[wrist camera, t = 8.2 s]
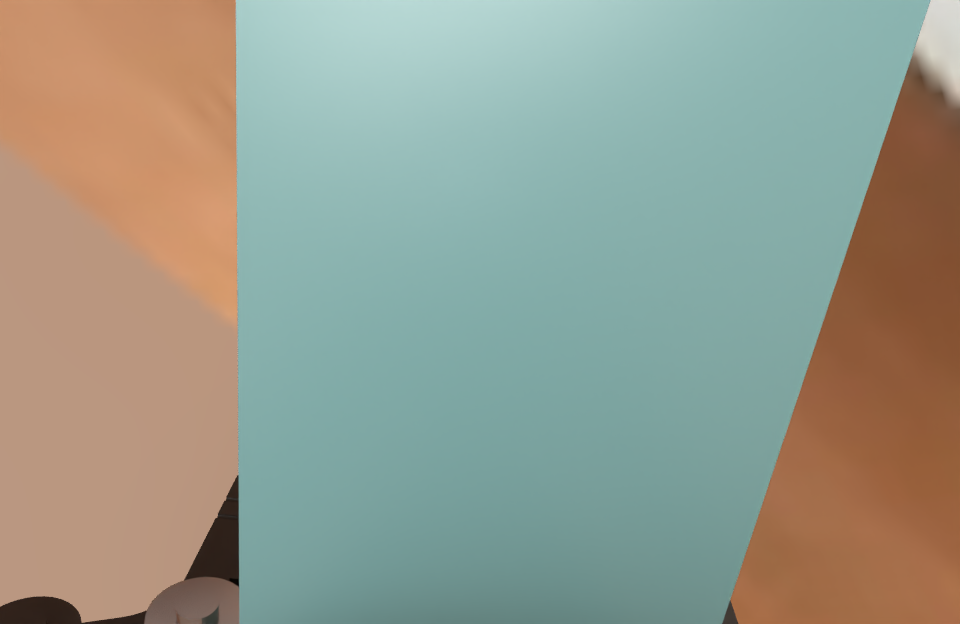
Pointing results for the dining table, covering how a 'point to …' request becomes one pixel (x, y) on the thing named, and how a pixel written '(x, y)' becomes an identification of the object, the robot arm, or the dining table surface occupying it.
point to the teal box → (535, 293)
